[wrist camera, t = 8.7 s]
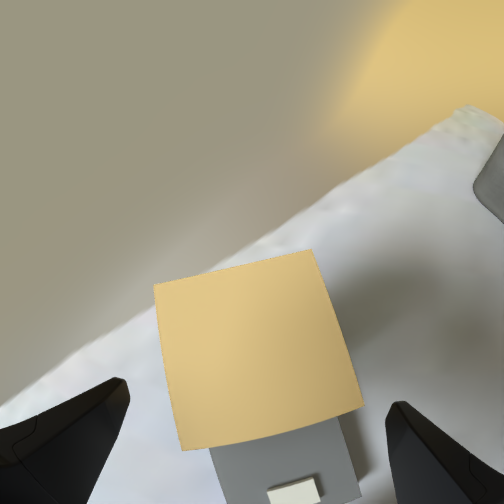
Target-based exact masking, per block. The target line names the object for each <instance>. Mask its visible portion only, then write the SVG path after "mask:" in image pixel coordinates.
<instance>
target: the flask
mask: <svg viewBox="0 0 504 504" xmlns="http://www.w3.org/2000/svg"><path fill="white" fill-rule="evenodd" d="M473 188H474V193H475V195H476V197H477V199H478V200H479V201H480V202H481V203H482V204H483V205H484V206H485V207H486V208H487V209H488V210H490V211H491V212H492V213H493V214H494V215H495V216H497V217H498V218H499V219H500V220H501V222H502V223H503V224H504V134H503V136H502V138H501V140H500V141H499V143H498V145H497V146H496V148H495V150H494V151H493V153H492V155H491V156H490V158H489V160H488V161H487V163H486V164H485V166H484V168H483V169H482V171H481V172H480V174H479V175H478V177H477V178H476V180H475V181H474V184H473Z"/></svg>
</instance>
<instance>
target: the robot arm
mask: <svg viewBox="0 0 504 504" xmlns="http://www.w3.org/2000/svg"><path fill="white" fill-rule="evenodd" d="M129 403H130V394H129V390H128V386H127V383H126V381H125V380H124V379H121V378H117V377H113V378H111V379H109V380H107V381H105V382H103V383H101V384H99V385H97V386H95V387H94V388H92V389H90V390H88V391H86V392H84V393H82V394H80V395H78V396H76V397H73V398H71V399H69V400H67V401H65V402H63V403H61V404H59V405H57V406H55V407H53V408H51V409H49V410H47V411H44V412H42V413H40V414H38V415H36V416H34V417H31V418H29V419H27V420H24V421H22V422H20V423H17V424H14V425H11V426H9V427H6V428H2V429H0V504H87V502H88V499H89V497H90V495H91V493H92V491H93V488H94V486H95V484H96V482H97V480H98V477H99V475H100V473H101V471H102V469H103V467H104V465H105V462H106V460H107V458H108V456H109V454H110V452H111V450H112V448H113V446H114V443H115V441H116V439H117V437H118V435H119V432H120V429H121V426H122V423H123V420H124V417H125V414H126V411H127V409H128V406H129ZM385 427H386V435H387V445H388V455H389V462H390V467H391V472H392V477H393V482H394V487H395V492H396V498H397V503H398V504H504V475H503V474H501V473H499V472H498V471H496V470H494V469H493V468H491V467H490V466H488V465H487V464H485V463H484V462H482V461H481V460H480V459H478V458H477V457H476V456H474V455H473V454H472V453H470V452H469V451H468V450H467V449H465V448H464V447H463V446H461V445H460V444H459V443H458V442H456V441H455V440H454V439H452V438H451V437H450V436H449V435H447V434H446V433H445V432H444V431H442V430H441V429H440V428H439V427H437V426H436V425H435V424H433V423H432V422H431V421H430V420H428V419H427V418H426V417H425V416H423V415H422V414H421V413H420V412H418V411H417V410H416V409H415V408H413V407H412V406H411V405H410V404H408V403H407V402H406V401H396V402H394V403H393V404H392V406H391V408H390V410H389V412H388V415H387V417H386V420H385Z"/></svg>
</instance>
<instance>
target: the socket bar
mask: <svg viewBox="0 0 504 504" xmlns="http://www.w3.org/2000/svg"><path fill="white" fill-rule="evenodd" d="M209 451H210V454H211V457H212V461H213V464H214V467H215V470H216V473H217V476H218V479H219V482H220V485H221V488H222V491H223V494H224V496H225V499H226V502H227V504H345V503H347V502H350V501H352V500H355V499H357V498H359V497H362V495H361V491H360V488H359V485H358V481H357V478H356V475H355V471H354V468H353V465H352V462H351V458H350V455H349V452H348V449H347V445H346V442H345V439H344V436H343V433H342V430H341V427H340V423H339V420H338V417H337V416H336V417H333V418H330V419H327V420H324V421H321V422H318V423H315V424H312V425H309V426H305V427H302V428H298V429H295V430H291V431H288V432H284V433H280V434H276V435H272V436H268V437H264V438H259V439H255V440H250V441H245V442H240V443H235V444H229V445H224V446H217V447H211V448H209Z"/></svg>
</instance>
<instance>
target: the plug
mask: <svg viewBox="0 0 504 504" xmlns="http://www.w3.org/2000/svg"><path fill="white" fill-rule="evenodd" d="M154 296H155V305H156V313H157V321H158V329H159V336H160V343H161V350H162V356H163V362H164V368H165V374H166V380H167V385H168V390H169V396H170V401H171V405H172V410H173V415H174V419H175V424H176V428H177V432H178V437H179V441H180V445H181V449H182V451H188V450H196V449H204V448H211V447H217V446H224V445H229V444H235V443H240V442H245V441H250V440H255V439H259V438H264V437H268V436H272V435H276V434H280V433H284V432H288V431H291V430H295V429H298V428H302V427H305V426H309V425H312V424H315V423H318V422H321V421H324V420H327V419H330V418H333V417H336V416H339V415H342V414H344V413H347V412H350V411H353V410H355V409H358V408H360V407H363V406H365V405H364V401H363V398H362V395H361V391H360V388H359V385H358V381H357V378H356V375H355V372H354V368H353V365H352V362H351V359H350V356H349V353H348V350H347V347H346V344H345V341H344V338H343V335H342V332H341V329H340V326H339V323H338V320H337V317H336V314H335V312H334V309H333V306H332V303H331V300H330V297H329V295H328V292H327V289H326V286H325V284H324V281H323V278H322V276H321V273H320V270H319V268H318V265H317V262H316V260H315V257H314V254H313V252H312V249H309V250H305V251H300V252H296V253H292V254H288V255H283V256H279V257H275V258H270V259H266V260H262V261H257V262H253V263H249V264H244V265H240V266H236V267H231V268H227V269H223V270H218V271H214V272H209V273H205V274H200V275H196V276H192V277H187V278H183V279H178V280H174V281H169V282H165V283H160V284H156V285H154Z"/></svg>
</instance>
